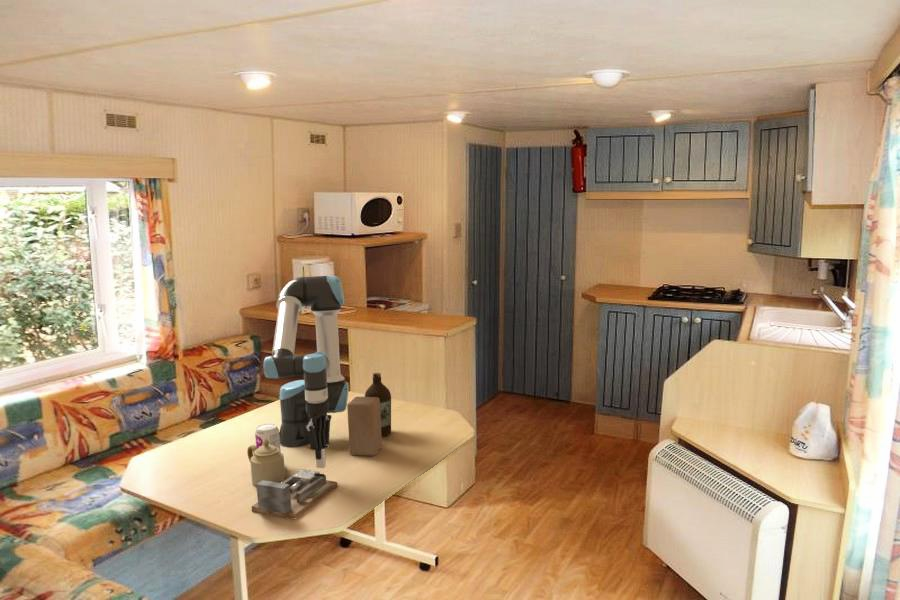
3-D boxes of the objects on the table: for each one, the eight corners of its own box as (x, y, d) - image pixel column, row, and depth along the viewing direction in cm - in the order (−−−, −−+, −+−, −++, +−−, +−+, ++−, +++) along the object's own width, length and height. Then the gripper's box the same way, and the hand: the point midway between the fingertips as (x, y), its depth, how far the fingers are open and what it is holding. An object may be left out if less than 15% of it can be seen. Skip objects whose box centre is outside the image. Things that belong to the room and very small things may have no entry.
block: (374, 457, 249) (372, 404, 246) (349, 455, 251) (346, 403, 248) (382, 446, 259) (380, 396, 256) (358, 445, 261) (355, 395, 258)
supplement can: (260, 473, 238) (257, 432, 235) (255, 465, 245) (252, 425, 243) (283, 468, 241) (280, 428, 239) (278, 460, 249) (275, 421, 246)
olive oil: (362, 431, 276) (359, 372, 271) (387, 427, 280) (384, 368, 276) (371, 440, 266) (368, 378, 262) (396, 435, 271) (394, 374, 267)
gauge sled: (283, 494, 217) (282, 480, 216) (303, 480, 227) (302, 467, 226) (311, 499, 213) (310, 484, 212) (330, 484, 223) (329, 471, 222)
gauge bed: (250, 511, 209) (248, 482, 208) (297, 479, 232) (295, 453, 230) (294, 519, 203) (292, 490, 202) (337, 486, 226) (335, 459, 224)
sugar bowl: (235, 485, 228) (231, 443, 226) (251, 472, 239) (248, 431, 237) (276, 488, 225) (273, 445, 223) (290, 474, 236) (287, 433, 234)
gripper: (315, 407, 219) (319, 476, 223) (336, 395, 231) (340, 461, 235) (296, 404, 222) (300, 473, 226) (318, 393, 234) (322, 458, 238)
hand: (321, 467), depth 230 cm, fingers closed
